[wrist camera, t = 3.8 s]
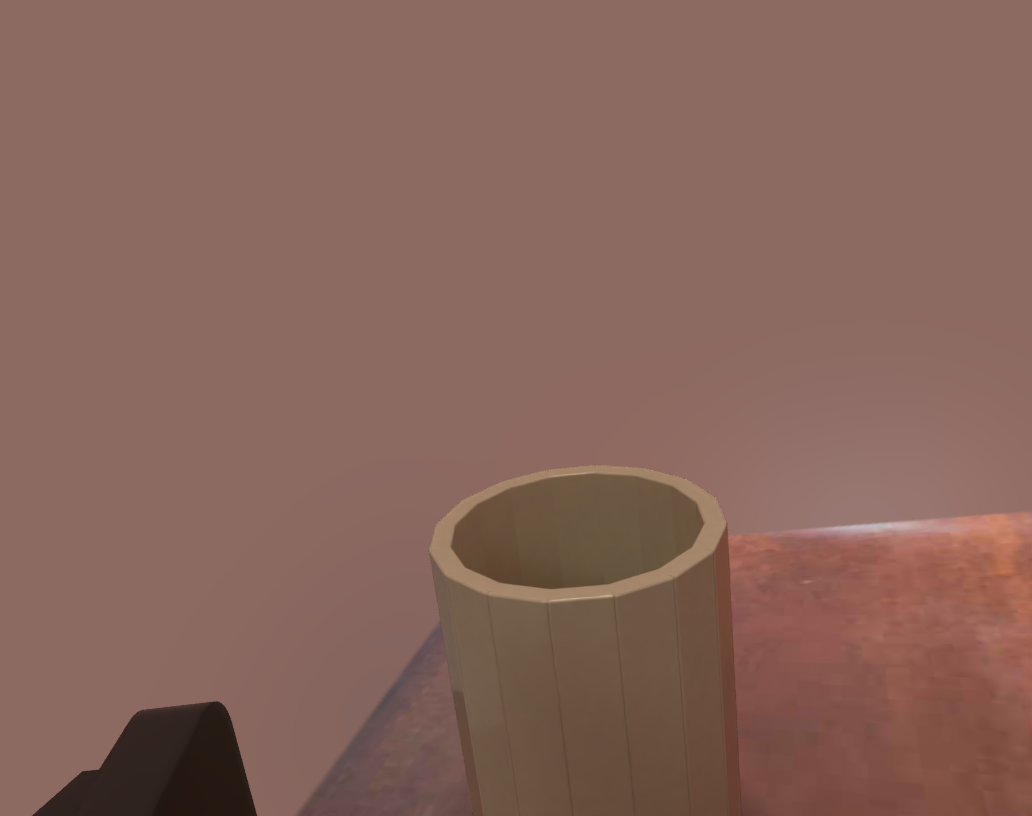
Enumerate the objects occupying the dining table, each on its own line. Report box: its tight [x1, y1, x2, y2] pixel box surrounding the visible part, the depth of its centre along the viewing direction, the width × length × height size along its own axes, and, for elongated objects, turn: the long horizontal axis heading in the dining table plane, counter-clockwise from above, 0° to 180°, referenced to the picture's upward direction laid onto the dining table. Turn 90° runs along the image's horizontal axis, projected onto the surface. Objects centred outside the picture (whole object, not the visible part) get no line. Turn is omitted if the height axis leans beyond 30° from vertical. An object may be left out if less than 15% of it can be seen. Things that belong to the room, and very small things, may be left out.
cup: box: [429, 465, 742, 816], centre depth 22 cm, size 7×7×10 cm
